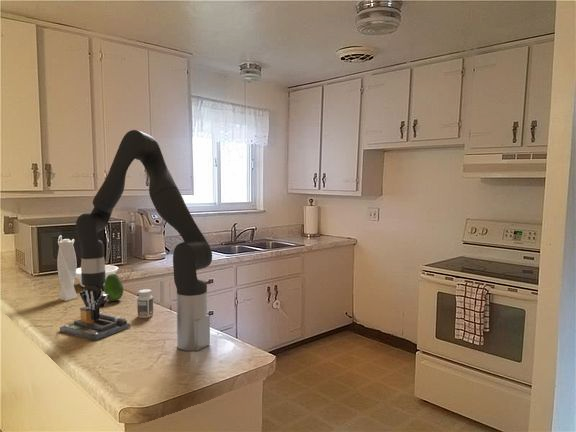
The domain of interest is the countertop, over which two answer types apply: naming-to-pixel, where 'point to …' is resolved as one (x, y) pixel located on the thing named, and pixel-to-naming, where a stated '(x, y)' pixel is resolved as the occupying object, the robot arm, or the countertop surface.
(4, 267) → the countertop surface
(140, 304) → the pill bottle
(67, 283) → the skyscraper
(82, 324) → the breaker panel
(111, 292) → the avocado
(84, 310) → the lever
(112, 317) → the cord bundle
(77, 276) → the bowl
